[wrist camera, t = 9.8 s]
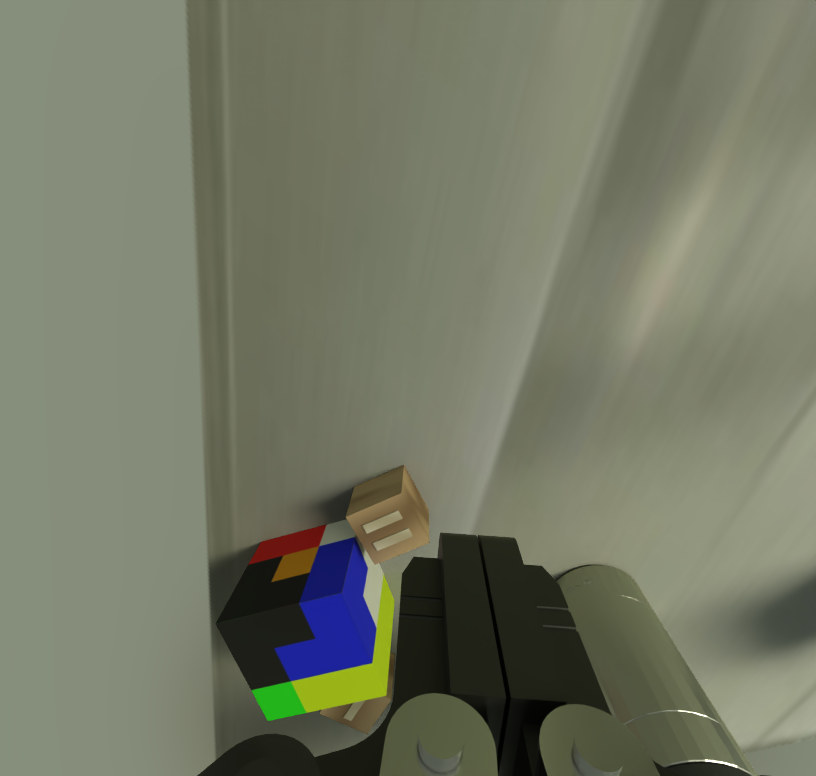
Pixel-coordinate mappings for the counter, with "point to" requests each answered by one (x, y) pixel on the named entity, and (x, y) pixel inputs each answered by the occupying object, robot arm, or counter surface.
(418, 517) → the two bar block
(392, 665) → the one bar block
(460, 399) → the counter surface
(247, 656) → the puzzle toy
